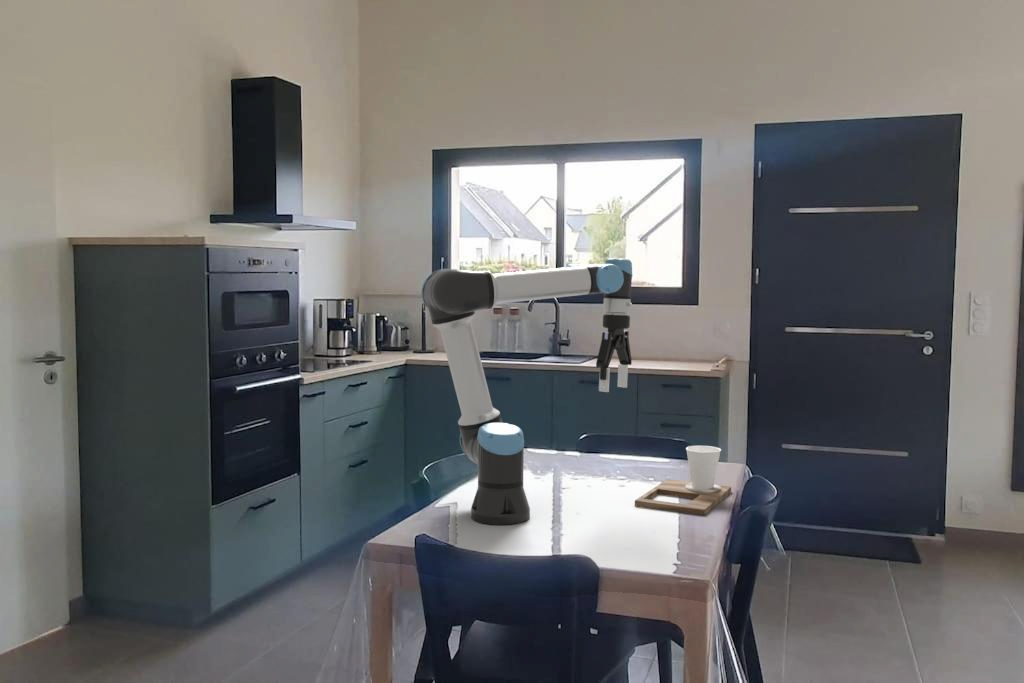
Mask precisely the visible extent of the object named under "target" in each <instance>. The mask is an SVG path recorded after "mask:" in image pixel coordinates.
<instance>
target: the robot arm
mask: <svg viewBox="0 0 1024 683" xmlns="http://www.w3.org/2000/svg"><path fill="white" fill-rule="evenodd" d="M632 279H633V263H632V260H630V259H629V258H606V259H605V263H602V264H600V263H597V264H595V263H594V264H589V263H588V264H587V263H585V264H584V263H570V264H567V265H566V266H565V267H557V268H548V269H535V270H524V271H513V272H504V273H502V272H501V273H500V272H499V273H493V272H491V271H490V270H479V271H478V270H465V269H458V268H457V269H456V268H454V269H453V268H452V269H451V268H442V269H441V268H440V269H438V270H435V271H433V272H432V273H430V274H428V275H427V277H426V278H425V280H424V281H423V282H422V284H421V285H422V286H421V292H420V293H421V299H422V302H423V304H424V305H425V307H426V308H427V309H428V313H429V317H430V320H431V323H432V324H431V325H432V326H434V327H435V328H436V329H438V330H439V331H440V335H441V339H442V343H443V347H444V350H445V351H444V352H445V355H446V359H447V363H448V366H449V371H450V374H451V378H452V382H453V386H454V390H455V394H456V397H457V401H458V405H459V409H460V413H461V416H460V417H459V419H458V420H457V424H458V428H459V431H460V434H459V445H460V448H461V451H462V453H463V454H464V456H465V457H466V458H467V459H468V460H470V461H471V462H472V463H474V464H476V465H477V489H476V492H475V496H474V498H473V502H472V505H471V508H470V518H471V519H472V520H473V521H475V522H477V523H481V524H488V525H496V526H497V525H498V526H499V525H500V526H501V525H502V526H503V525H515V524H521V523H523V522H526V521H527V520H529V519H530V517H531V508H530V505H529V501H528V498H527V494H526V492H525V489H524V455H525V454H524V450H525V449H524V448H525V447H524V446H525V439H524V433H523V430H522V428H520V427H519V426H517V425H515V424H510V423H508V422H503V420H502V419H503V418H502V415H501V412H500V410H498V409H497V408H495V407H494V406H493V404H492V399H491V395H490V391H489V387H488V383H487V379H486V376H485V370H484V367H483V363H482V360H481V356H480V351H479V347H478V344H477V338H476V336H475V330H474V327H473V323H472V321H473V319H474V318H475V315H476V312H477V311H481V310H491V309H493V308H494V307H495V306H496V305H499V304H507V303H508V304H509V303H510V304H511V303H515V302H516V303H518V302H526V301H527V302H528V301H537V300H547V299H557V298H565V297H573V296H574V297H575V296H576V297H577V296H583V295H597V294H603V305H602V306H603V308H602V311H603V313H604V314H603V315H602V327H603V328H605V329H607V331H602V333H601V334H602V335H601V342H600V345H599V351H598V355H597V358H596V364H595V365H596V366H595V367H596V368H599V377H598V378H599V379H598V380H599V381H598V392H603V393H609V392H610V376H611V375H610V372H611V371H610V370H611V368H610V363H611V361H612V357H613V355H614V352H615V351H616V354H617V358H618V361H619V364H618V365H617V366H618V367H617V388H623V389H624V388H626V389H627V388H628V379H629V378H628V376H629V374H628V372H629V366H631V365H632V364H633V363H632V355H631V345H630V339H629V335H630V334H629V330H627V329H629V328H630V327H631V326H630V325H631V324H630V323H631V316H630V315H629V314H630V313H631V307H632V305H633V303H632V302H631V298H632V296H631V295H632V281H633V280H632ZM625 329H626V330H625Z"/></svg>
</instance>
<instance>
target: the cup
mask: <svg viewBox="0 0 1024 683" xmlns="http://www.w3.org/2000/svg"><path fill="white" fill-rule="evenodd" d="M685 450H686V455H687V456H686V457H687V462H688V469H689V475H690V482H691V483H692V486H693V487H694V488H697V489H711V488H713V487H714V484H715V482H716V475H717V470H718V465H719V461H720V457H721V456H720V455H721V452H722V449H721V448H720V447H717V446H711V445H688V446H687V447H686V448H685Z"/></svg>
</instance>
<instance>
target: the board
mask: <svg viewBox="0 0 1024 683" xmlns="http://www.w3.org/2000/svg"><path fill="white" fill-rule="evenodd" d="M731 492H732V486H729V485H728V486H727V485H721V484H720V485H719V484H715V483H714V487H713V488H711V489H697V488H694V487H693V486H692V483H691V481H688V480H687V481H686V480H676V479H670V478H668V479H666V480H663V482H661V483H659V484H658V485H657V486H654V488H652V489H650V490H648V491H647V492H645V493H644V494H643V495H641V496H639V497H637V498H636V499H635V500H634V507H641V508H647V509H653V510H654V509H655V510H662V511H668V512H677V513H683V514H684V513H685V514H691V515H697V516H698V515H699V516H705V515H706V514H707V513H708V512H710V511H711V510H712V509H713V508H714V507H716V506H717V505H718V504H719V503H720V502H722V500H724V499H725V498H726V497H727V496H728V495H730V494H731ZM657 495H661V496H669V497H670V496H671V497H677V498H686V499H692V501H690V502H689V503H688V504H686V503H677V502H670V501H665V500H664V501H663V500H656V499H653V498H654V497H655V496H657ZM725 496H726V497H725ZM724 497H725V498H724ZM723 498H724V499H723Z"/></svg>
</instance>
